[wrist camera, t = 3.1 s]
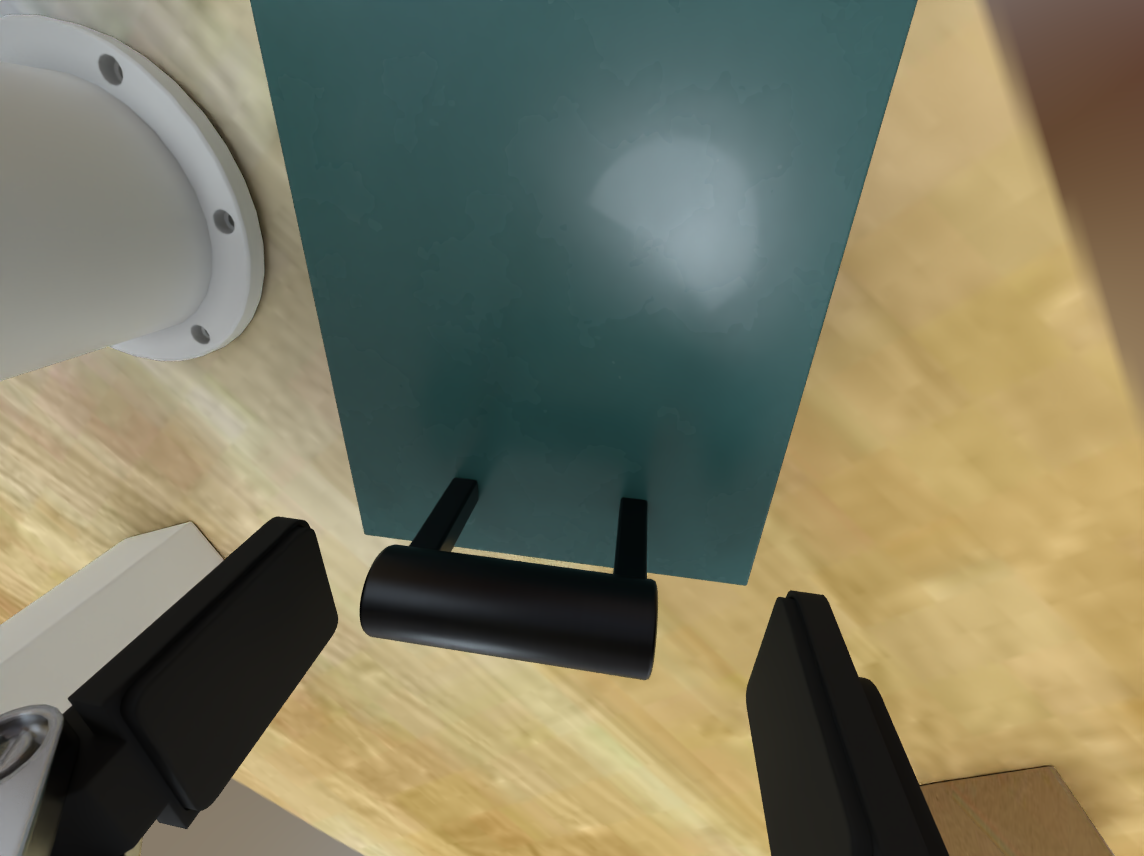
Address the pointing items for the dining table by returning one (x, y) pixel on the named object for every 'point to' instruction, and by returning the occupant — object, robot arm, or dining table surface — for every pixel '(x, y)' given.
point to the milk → (97, 614)
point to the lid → (570, 286)
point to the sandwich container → (1013, 816)
